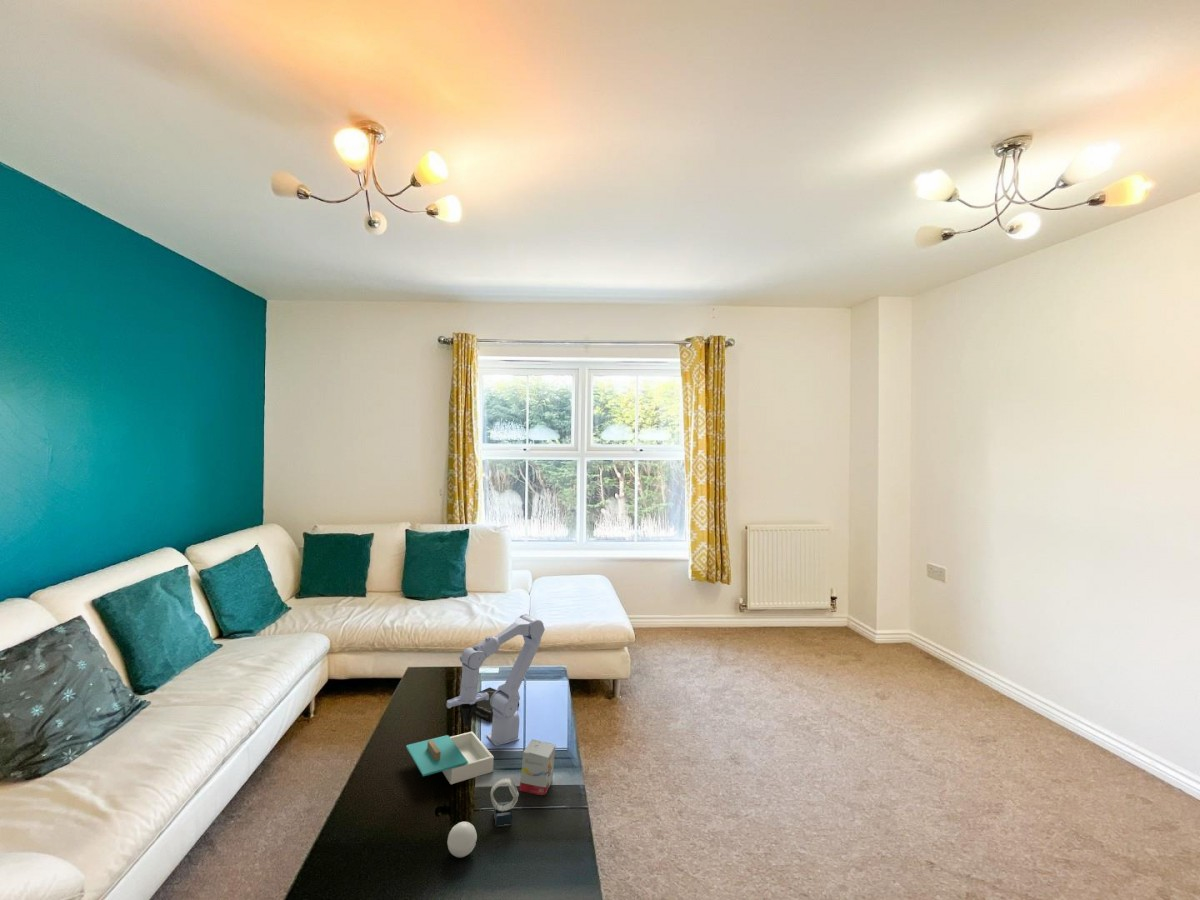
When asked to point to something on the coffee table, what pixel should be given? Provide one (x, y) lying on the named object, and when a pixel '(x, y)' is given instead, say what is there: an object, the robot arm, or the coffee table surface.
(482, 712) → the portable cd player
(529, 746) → the ink box
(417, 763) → the lid
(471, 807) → the coffee table surface
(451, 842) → the white egg
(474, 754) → the mailer box
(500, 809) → the watch
